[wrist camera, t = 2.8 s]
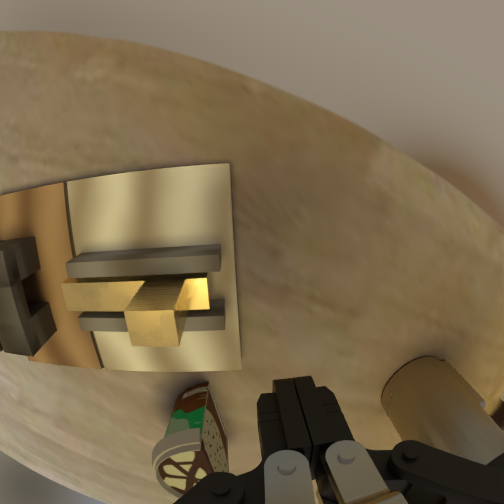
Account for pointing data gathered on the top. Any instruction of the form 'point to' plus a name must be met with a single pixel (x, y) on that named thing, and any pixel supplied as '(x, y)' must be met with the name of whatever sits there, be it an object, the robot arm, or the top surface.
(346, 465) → the robot arm
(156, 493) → the top surface
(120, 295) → the wooden t-shaped block
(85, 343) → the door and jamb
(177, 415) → the food container
